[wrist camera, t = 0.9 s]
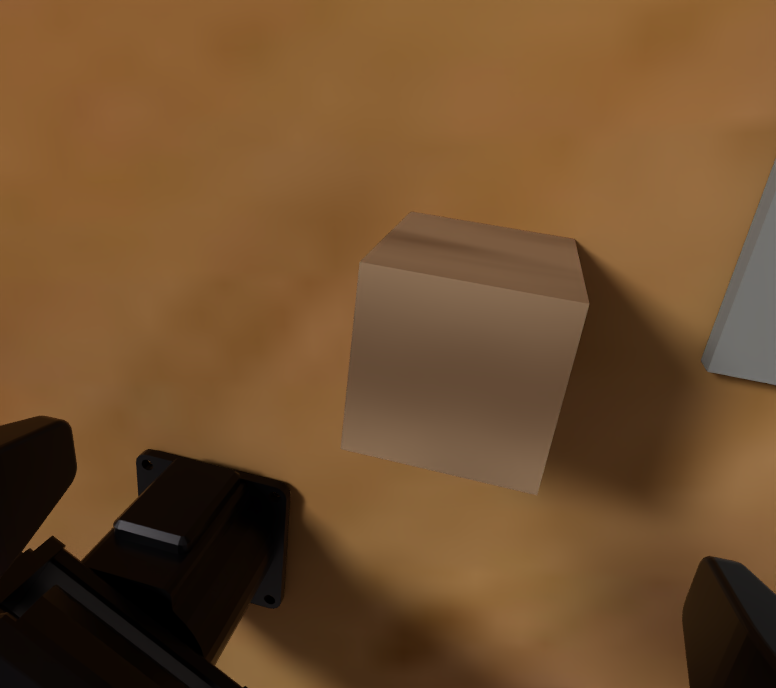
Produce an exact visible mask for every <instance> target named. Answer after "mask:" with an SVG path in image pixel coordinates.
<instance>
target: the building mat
mask: <svg viewBox="0 0 776 688" xmlns="http://www.w3.org/2000/svg"><path fill="white" fill-rule="evenodd" d="M701 362H702V363H703V365H704V367H705V369H706V370H707V372H712V373H717V374H722V375H727V376H732V377H738V378H743V379H748V380H753V381H758V382H763V383H768V384H773V385H776V159H775V162H774V165H773V167H772V170H771V173H770V175H769V178H768V181H767V184H766V186H765V189H764V192H763V194H762V197H761V200H760V202H759V205H758V208H757V210H756V213H755V216H754V219H753V221H752V224H751V227H750V229H749V232H748V235H747V237H746V240H745V243H744V245H743V248H742V251H741V253H740V256H739V259H738V262H737V264H736V267H735V270H734V272H733V275H732V278H731V280H730V283H729V286H728V288H727V291H726V294H725V296H724V299H723V302H722V305H721V307H720V310H719V313H718V315H717V318H716V321H715V323H714V326H713V329H712V331H711V334H710V337H709V340H708V342H707V345H706V348H705V350H704V353H703V356H702V358H701Z"/></svg>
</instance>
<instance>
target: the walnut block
mask: <svg viewBox="0 0 776 688" xmlns="http://www.w3.org/2000/svg"><path fill="white" fill-rule="evenodd" d="M588 308H589V300H588V295H587V291H586V286H585V282H584V278H583V273H582V269H581V264H580V260H579V256H578V251H577V247H576V242H575V239H572V238H566V237H560V236H554V235H548V234H542V233H536V232H530V231H524V230H518V229H512V228H506V227H500V226H494V225H488V224H482V223H476V222H470V221H464V220H458V219H452V218H446V217H440V216H435V215H429V214H423V213H417V212H410V213H409V214H408V215H407V216H406V217H405V218H404V219H403V220H402V221H401V222H400V223H399V224H398V225H397V226H396V227H395V228H394V229H393V230H392V231H391V232H390V233H388V234H387V235H386V236H385V237H384V238H383V239H382V240H381V241H380V242H379V243H378V244H377V245H376V246H375V247H374V248H373V249H372V250H371V251H370V252H369V253H368V254H367V255H366V256H365V257H364V258H363V259H362V260H361V261H360V263H359V273H358V283H357V293H356V303H355V313H354V323H353V333H352V342H351V352H350V362H349V372H348V382H347V392H346V402H345V412H344V421H343V431H342V441H341V449H343V450H347V451H351V452H356V453H360V454H364V455H368V456H373V457H377V458H381V459H385V460H390V461H394V462H398V463H402V464H407V465H411V466H415V467H419V468H424V469H428V470H432V471H436V472H441V473H445V474H449V475H453V476H458V477H462V478H466V479H470V480H475V481H479V482H483V483H487V484H492V485H496V486H500V487H504V488H509V489H513V490H517V491H521V492H526V493H530V494H534V495H537V494H538V490H539V487H540V483H541V479H542V476H543V472H544V468H545V465H546V461H547V457H548V454H549V450H550V446H551V443H552V439H553V435H554V432H555V428H556V425H557V421H558V417H559V414H560V410H561V406H562V403H563V399H564V395H565V392H566V388H567V384H568V381H569V377H570V373H571V370H572V366H573V362H574V359H575V355H576V352H577V348H578V344H579V341H580V337H581V333H582V330H583V326H584V322H585V319H586V315H587V311H588Z"/></svg>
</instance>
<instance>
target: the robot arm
mask: <svg viewBox="0 0 776 688" xmlns="http://www.w3.org/2000/svg"><path fill="white" fill-rule="evenodd" d="M149 461H150V462H151V463H152V464H151V463H150V462H149ZM136 467H137V482H138V496H139V497H138V498H137V499H136V500H135V501H134V502H133V503H132V504H131V505H130V506H129V507H128V508H127V509H126V510H125V511H124V512H123V513H122V514H121V515H120V516H119V517H118V518H117V519H116V520H115V522H114V523H113V526H114V527H113V528H112V529H111V530H110V531H109V532H108V533H107V534H106V535H105V536H104V537H103V538H102V539H101V541H100V542H99V543H98V544H97V545H96V546H95V547H94V548H93V549H92V550H91V551H90V552H89V553H88V554H87V555H86V556H85V557H84V558H83V559H82V560H81V561H80V560H78V559H77V558H76V557H75V556H73V555H72V554H71V553H69V552H68V551H67V550H66V549H64V548H65V546H66V545H64V544H63V543H62V542H60V541H59V540H58V539H57V538H55V537H54V536H51V537H50V538H49V539H48V540H47V541H45V542H44V543H43V544H42V545H40V546H39V547H38V548H37V549H36V550H34V551H33V550H32V549H30V548H29V549H28V550H26V551H25V552H24V553H23V552H22V551H23V549H24V548H25V546H26V545H27V544H28V542H29V541H30V540H31V538H32V537H33V536H34V534H35V533H36V531H37V530H38V529H39V527H40V526H41V525H42V523H43V522H44V521H45V519H46V518H47V516H48V515H49V514H50V512H51V511H52V510H53V508H54V507H55V505H56V504H57V503H58V501H59V500H60V499H61V497H62V496H63V495H64V493H65V492H66V490H67V489H68V488H69V486H70V485H71V483H72V482H73V480H74V478H75V475H76V471H77V462H76V455H75V448H74V441H73V434H72V429H71V426H70V425H69V423H68V422H66V421H65V420H62V419H57V418H53V417H48V416H36V417H32V418H28V419H25V420H21V421H17V422H13V423H9V424H5V425H2V426H0V688H247V687H246V686H245V687H241V686H240V685H239V684H237V683H236V682H235V681H234V680H232V679H231V678H230V677H228V676H227V675H226V674H225V673H223V672H222V671H221V670H219V669H218V668H217V667H216V666H215V665H216V663H217V661H218V659H219V657H220V656H221V654H222V652H223V650H224V648H225V647H226V645H227V643H228V641H229V640H230V638H231V636H232V634H233V632H234V631H235V629H236V627H237V625H238V623H239V622H240V620H241V618H242V616H243V615H244V613H245V611H246V609H247V607H248V606H249V604H250V603H253V604H257V605H260V606H264V607H267V608H273V609H274V608H277V607H279V606H280V604H281V602H282V600H283V597H284V589H285V573H286V557H287V540H288V524H289V508H290V490H289V488H288V487H287V486H286V485H285V484H284V483H282V482H280V481H277V480H273V479H269V478H265V477H261V476H257V475H253V474H249V473H245V472H240V471H236V470H232V469H228V468H224V467H220V466H216V465H212V464H208V463H204V462H200V461H196V460H192V459H188V458H184V457H180V456H176V455H172V454H168V453H164V452H160V451H156V450H152V449H148V450H145V451H144V452H143V453H142V454H140V455H139V456H138V458H137V460H136ZM273 492H276V493H278V494H279V495H280V497H278V496H276V495H275V494H274V493H273ZM682 622H683V632H684V641H685V650H686V658H687V667H688V676H689V685H690V688H776V594H775V593H774V592H772V591H771V590H770V589H769V588H768V587H767V586H766V585H765V584H764V583H763V582H762V581H760V580H759V579H758V578H757V577H756V576H755V575H754V574H753V573H752V572H751V571H750V570H748V569H747V568H746V567H745V566H744V565H743V564H741V563H739V562H736V561H732V560H727V559H722V558H717V557H713V556H708V557H705V558H703V559H702V561H701V562H700V564H699V566H698V568H697V571H696V574H695V576H694V579H693V581H692V584H691V587H690V589H689V592H688V594H687V597H686V600H685V603H684V607H683V614H682Z"/></svg>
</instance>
